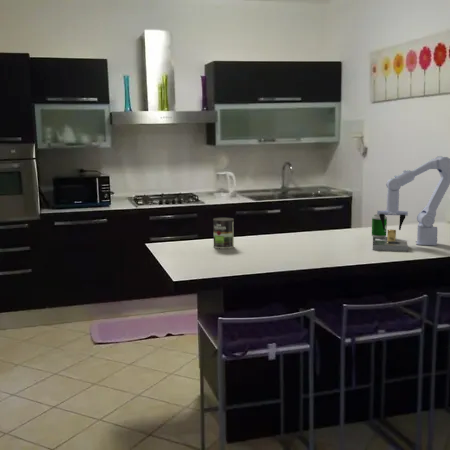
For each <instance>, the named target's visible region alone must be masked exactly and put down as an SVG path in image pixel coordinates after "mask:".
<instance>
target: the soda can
mask: <svg viewBox="0 0 450 450" xmlns="http://www.w3.org/2000/svg"><path fill="white" fill-rule="evenodd" d="M371 217H372V218H371V236H372V238H373V237H375V239H376V240H378V239H380V240H381V239H385V238H387V230H388V229H387V225H388V217H387V215H385V219H384V227H385V229H384V230H383V225H382V222H381V219H380V216H379V215H377V214H373V216H371Z"/></svg>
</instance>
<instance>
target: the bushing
mask: <svg viewBox="0 0 450 450" xmlns="http://www.w3.org/2000/svg"><path fill="white" fill-rule="evenodd" d="M386 239H387V240H386V241H397V240H396V239H397V230H396V229H387V234H386Z"/></svg>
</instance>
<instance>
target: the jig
mask: <svg viewBox="0 0 450 450" xmlns="http://www.w3.org/2000/svg"><path fill="white" fill-rule="evenodd" d="M408 250H409V245H408V241H405V240H396V241H387V240H381V239H380V240H378V239H376V238H375V237H373V236H372V251H383V252H384V251H385V252H386V251H389V252H390V251H391V252H408Z"/></svg>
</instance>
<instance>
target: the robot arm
mask: <svg viewBox="0 0 450 450" xmlns="http://www.w3.org/2000/svg"><path fill="white" fill-rule="evenodd" d="M429 170H437V171H438V173H439V175H440V178H439V180H438V182H437V184H436V186H435V188H434V190H433V192H432V194H431V196H430V198H429V200H428V202H427V203H426V206H424V208H422V210H421V211H420V212H418V214H417V216H416V221H417V223H418V224H417V232H416V233H417V234H416V240H415V244H416V246H417V245H419V246H438V226H434V224H435V219H436V216H437V210H438V209H439V205H440V203H441V202H442V200H443V198H444V196H445V194H446V193H447V190H448V189H449V187H450V158H449V157H448V156H442V155H439V156H438V155H437V156H436V157H434V158H431V159H429V160H428V161H426V162H424V163H423V164H421V165H419V166H418V167H416V168H414V169H412V170H409V169H407V170H406V169H405V170H403V171H402V173H400V174H398V175H394V177H393V178H392V177H391V178H389V179H388V180H387V181H386V184H385V185H386V188H387V192H386V193H387V194H386V210H377V212H376V213H377V214H376V215H379V216H380V219H381V222H382V225H383V230H384V229H385V227H384V219H385V216H399V224H398V230H399V231H401V229H402V225H403V223H404V221H405V219H406V217H408V216H409V215H408V214H409V213H408V212H409V211H406V210H405V211H404V210H399V206H400V189H401V187H403V186H405V185H407V184H409V183H412V182H413V181H414V180H415V178H416V177H417V176H419V175H421V174H423V173H425V172H427V171H429Z"/></svg>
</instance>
